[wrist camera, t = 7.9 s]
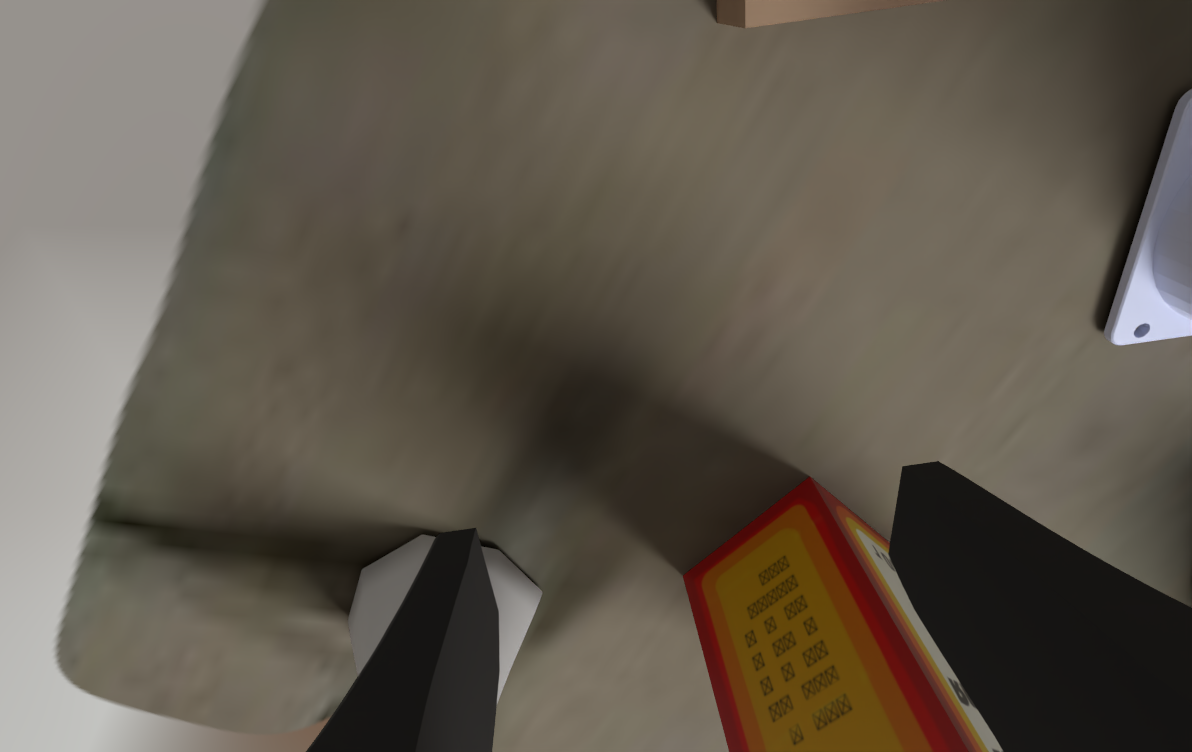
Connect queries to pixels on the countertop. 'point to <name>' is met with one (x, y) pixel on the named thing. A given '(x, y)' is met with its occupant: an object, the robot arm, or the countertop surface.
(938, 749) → the baking soda box
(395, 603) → the flask
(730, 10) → the walnut block
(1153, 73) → the countertop surface
